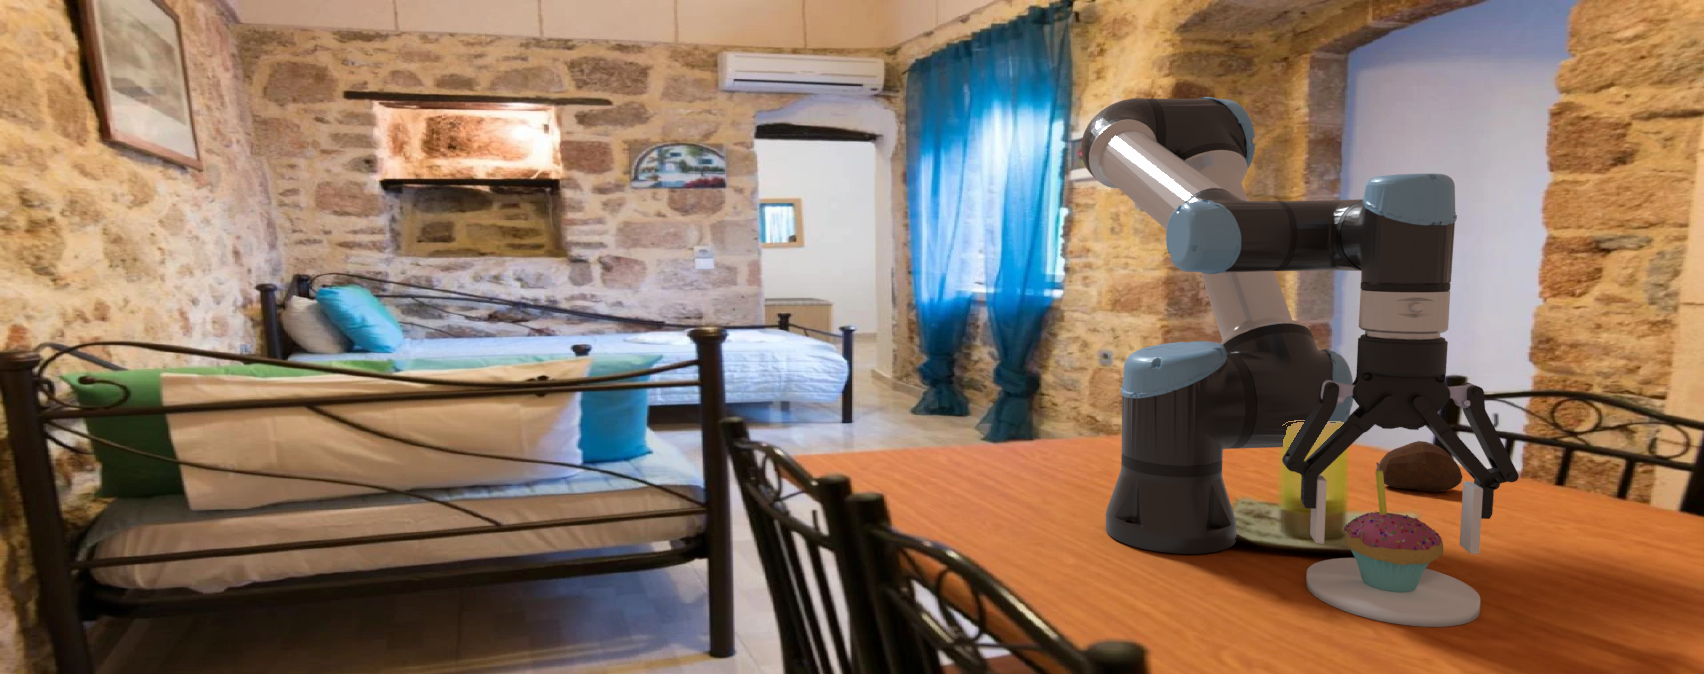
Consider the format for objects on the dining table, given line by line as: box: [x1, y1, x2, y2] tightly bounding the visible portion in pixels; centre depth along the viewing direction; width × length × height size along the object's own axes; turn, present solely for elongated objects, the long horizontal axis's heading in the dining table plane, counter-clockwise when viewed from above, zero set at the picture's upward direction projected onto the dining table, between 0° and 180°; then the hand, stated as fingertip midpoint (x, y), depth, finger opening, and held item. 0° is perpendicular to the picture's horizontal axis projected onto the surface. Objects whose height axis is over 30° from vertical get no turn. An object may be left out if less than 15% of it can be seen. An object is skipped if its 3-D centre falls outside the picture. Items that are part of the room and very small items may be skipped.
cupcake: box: [1342, 462, 1444, 592], centre depth 90 cm, size 9×8×12 cm
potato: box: [1375, 440, 1463, 493], centre depth 128 cm, size 7×10×7 cm
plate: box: [1305, 557, 1481, 628], centre depth 91 cm, size 15×15×1 cm
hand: (1391, 544), depth 90 cm, fingers open, 13 cm apart
